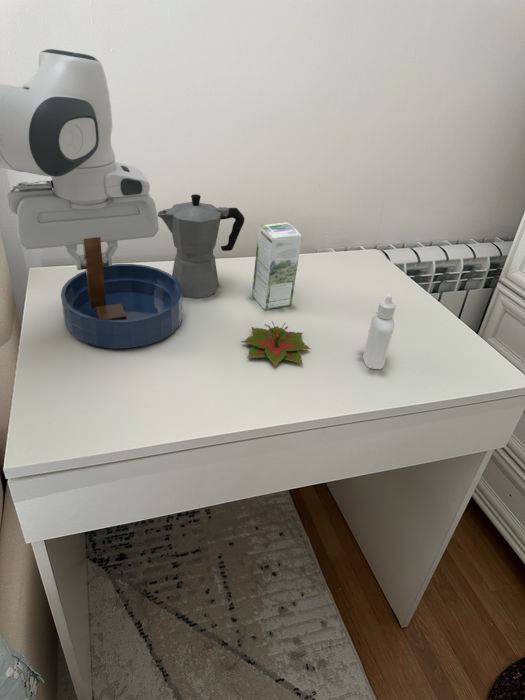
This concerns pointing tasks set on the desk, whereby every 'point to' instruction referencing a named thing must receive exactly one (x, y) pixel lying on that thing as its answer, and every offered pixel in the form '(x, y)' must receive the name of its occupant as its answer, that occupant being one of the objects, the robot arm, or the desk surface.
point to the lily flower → (276, 344)
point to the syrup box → (276, 265)
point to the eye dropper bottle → (379, 335)
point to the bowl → (125, 307)
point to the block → (111, 312)
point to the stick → (94, 271)
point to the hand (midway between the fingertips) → (94, 266)
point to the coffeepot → (198, 243)
